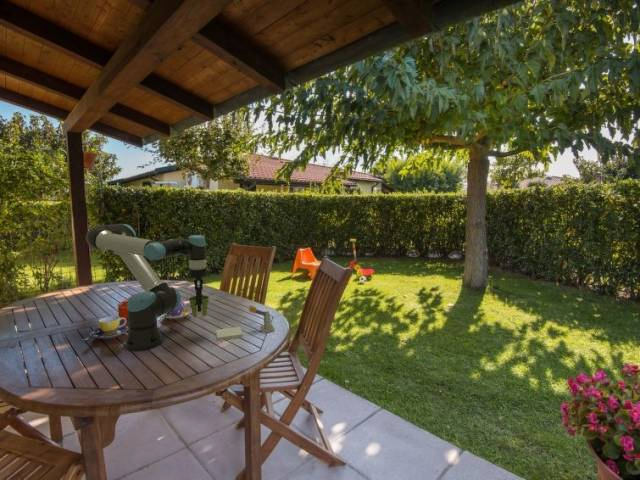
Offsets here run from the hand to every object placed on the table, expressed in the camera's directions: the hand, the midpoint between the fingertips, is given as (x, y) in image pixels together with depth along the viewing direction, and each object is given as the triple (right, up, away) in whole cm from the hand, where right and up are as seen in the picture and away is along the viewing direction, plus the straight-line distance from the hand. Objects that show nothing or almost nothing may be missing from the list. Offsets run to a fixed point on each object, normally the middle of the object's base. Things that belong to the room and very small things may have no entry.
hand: (199, 314), depth 164 cm
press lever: (+27, -2, +9) cm, 28 cm away
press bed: (+13, -11, +5) cm, 18 cm away
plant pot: (0, -1, 0) cm, 1 cm away
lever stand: (+31, -10, +11) cm, 34 cm away
